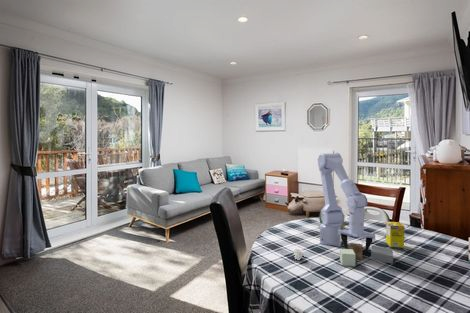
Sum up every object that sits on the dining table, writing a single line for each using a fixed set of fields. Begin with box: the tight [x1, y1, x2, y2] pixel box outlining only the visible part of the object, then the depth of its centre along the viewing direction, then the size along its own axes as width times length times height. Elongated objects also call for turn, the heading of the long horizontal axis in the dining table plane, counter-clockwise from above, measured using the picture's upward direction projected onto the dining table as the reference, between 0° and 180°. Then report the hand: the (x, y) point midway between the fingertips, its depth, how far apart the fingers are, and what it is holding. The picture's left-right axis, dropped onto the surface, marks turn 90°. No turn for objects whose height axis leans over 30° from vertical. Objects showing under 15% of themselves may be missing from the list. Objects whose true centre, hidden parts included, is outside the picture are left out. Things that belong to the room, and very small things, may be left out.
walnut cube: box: [349, 242, 364, 261], centre depth 117 cm, size 5×5×5 cm
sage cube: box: [339, 248, 356, 267], centre depth 111 cm, size 5×5×5 cm
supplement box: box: [385, 221, 405, 250], centre depth 127 cm, size 6×6×11 cm
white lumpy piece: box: [293, 249, 304, 261], centre depth 116 cm, size 9×8×4 cm
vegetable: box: [319, 210, 346, 230], centre depth 154 cm, size 12×13×15 cm
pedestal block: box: [370, 245, 394, 265], centre depth 116 cm, size 8×8×4 cm
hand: (356, 253), depth 117 cm, fingers open, 7 cm apart
